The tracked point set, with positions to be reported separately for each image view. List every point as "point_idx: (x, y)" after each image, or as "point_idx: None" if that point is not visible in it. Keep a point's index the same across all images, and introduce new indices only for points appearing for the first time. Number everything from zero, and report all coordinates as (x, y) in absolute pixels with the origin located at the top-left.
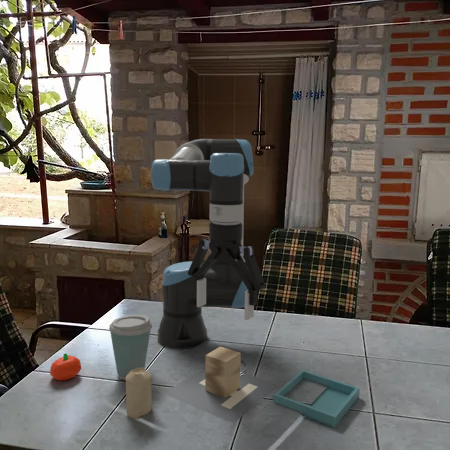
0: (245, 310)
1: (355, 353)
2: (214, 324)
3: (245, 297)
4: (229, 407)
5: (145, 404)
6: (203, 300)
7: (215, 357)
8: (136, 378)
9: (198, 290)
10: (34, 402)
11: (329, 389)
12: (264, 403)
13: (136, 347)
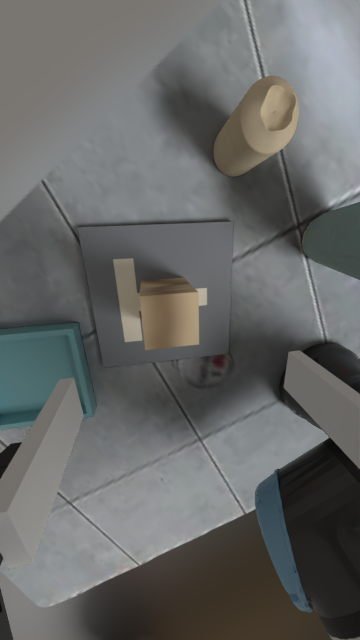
0: (54, 405)
1: (85, 500)
2: (299, 437)
3: (26, 466)
4: (116, 262)
5: (221, 133)
6: (297, 385)
7: (173, 297)
8: (263, 85)
9: (348, 394)
10: None
11: (41, 407)
12: (91, 316)
13: (353, 223)
